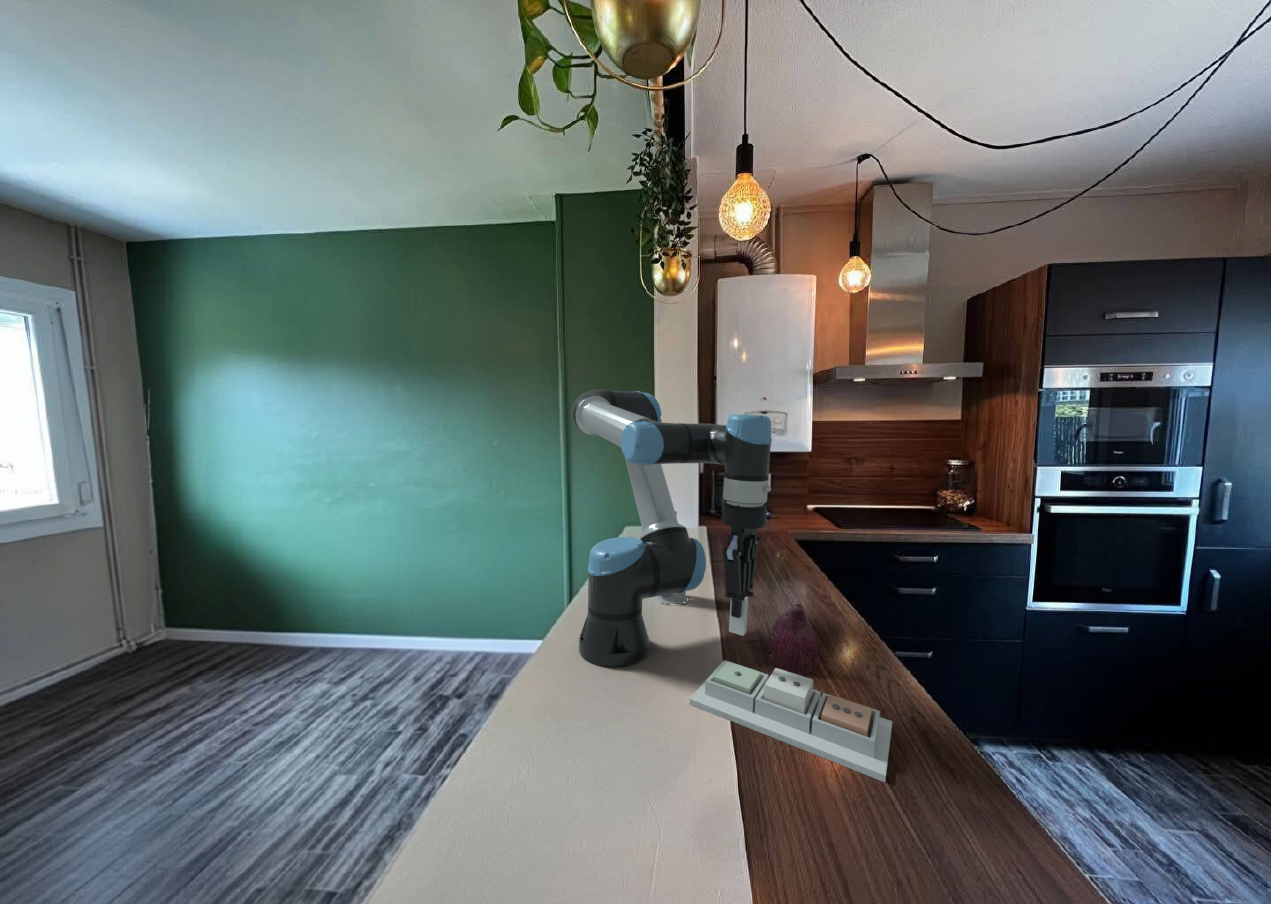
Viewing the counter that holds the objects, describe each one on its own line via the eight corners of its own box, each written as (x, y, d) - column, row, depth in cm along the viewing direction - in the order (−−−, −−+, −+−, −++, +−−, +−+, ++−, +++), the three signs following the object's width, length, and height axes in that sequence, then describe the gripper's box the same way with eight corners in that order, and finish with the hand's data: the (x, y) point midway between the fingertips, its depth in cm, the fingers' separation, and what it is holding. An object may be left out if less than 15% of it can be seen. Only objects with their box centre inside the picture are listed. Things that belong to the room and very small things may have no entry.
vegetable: (818, 690, 89) (837, 629, 84) (765, 677, 91) (781, 616, 86) (811, 653, 99) (828, 596, 94) (763, 641, 101) (777, 585, 96)
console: (689, 704, 78) (690, 684, 78) (720, 668, 90) (721, 651, 90) (885, 782, 62) (886, 758, 62) (891, 727, 74) (893, 706, 73)
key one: (713, 692, 80) (713, 675, 80) (726, 676, 85) (727, 660, 85) (748, 705, 76) (749, 687, 76) (760, 687, 82) (760, 671, 82)
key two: (763, 702, 75) (764, 683, 75) (774, 684, 80) (775, 666, 80) (803, 716, 71) (804, 697, 71) (812, 696, 77) (813, 678, 77)
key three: (820, 732, 70) (821, 713, 70) (828, 711, 75) (829, 693, 75) (866, 749, 67) (867, 729, 66) (870, 726, 72) (871, 707, 72)
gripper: (753, 511, 71) (745, 654, 73) (776, 500, 82) (769, 624, 84) (709, 505, 75) (703, 640, 77) (737, 495, 86) (730, 613, 88)
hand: (737, 631), depth 81 cm, fingers closed
